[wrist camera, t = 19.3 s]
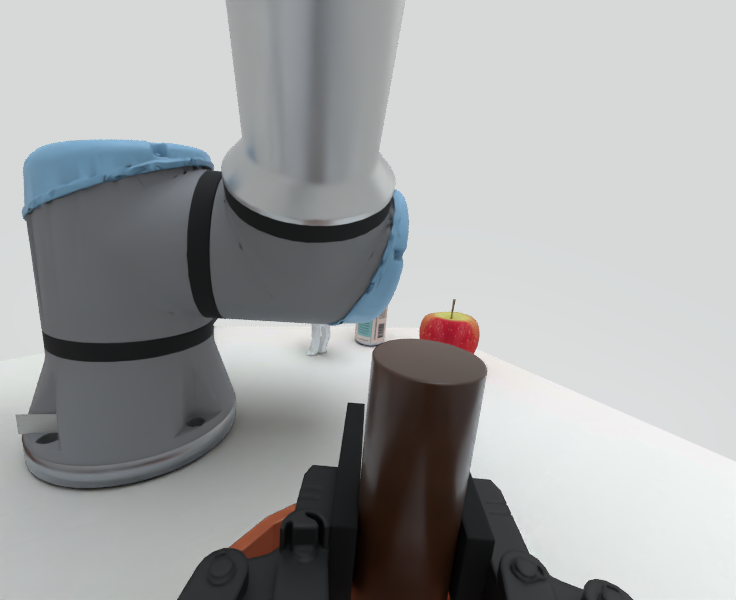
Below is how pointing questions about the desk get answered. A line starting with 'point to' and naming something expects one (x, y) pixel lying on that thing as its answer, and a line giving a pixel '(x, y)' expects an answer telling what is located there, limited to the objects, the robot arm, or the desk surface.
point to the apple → (451, 329)
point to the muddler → (415, 468)
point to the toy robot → (319, 339)
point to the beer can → (372, 330)
